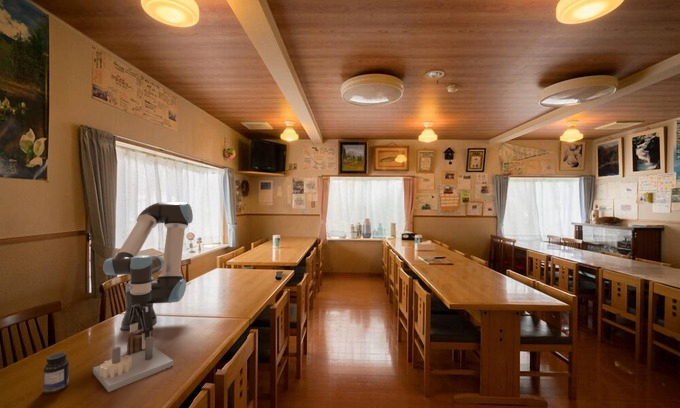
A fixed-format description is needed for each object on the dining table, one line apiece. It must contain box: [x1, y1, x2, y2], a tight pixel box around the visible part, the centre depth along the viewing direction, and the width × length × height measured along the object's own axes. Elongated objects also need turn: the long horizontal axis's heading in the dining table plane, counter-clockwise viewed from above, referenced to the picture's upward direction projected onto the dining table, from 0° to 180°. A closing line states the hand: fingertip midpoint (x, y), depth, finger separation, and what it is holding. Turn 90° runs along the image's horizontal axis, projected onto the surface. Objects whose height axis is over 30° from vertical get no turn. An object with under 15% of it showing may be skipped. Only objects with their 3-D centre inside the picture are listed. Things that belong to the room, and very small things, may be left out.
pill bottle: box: [43, 351, 70, 395], centre depth 98 cm, size 6×6×11 cm
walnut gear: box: [126, 328, 154, 356], centre depth 124 cm, size 9×9×7 cm
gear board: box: [92, 336, 174, 393], centre depth 109 cm, size 18×20×10 cm
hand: (139, 343), depth 124 cm, fingers open, 13 cm apart
